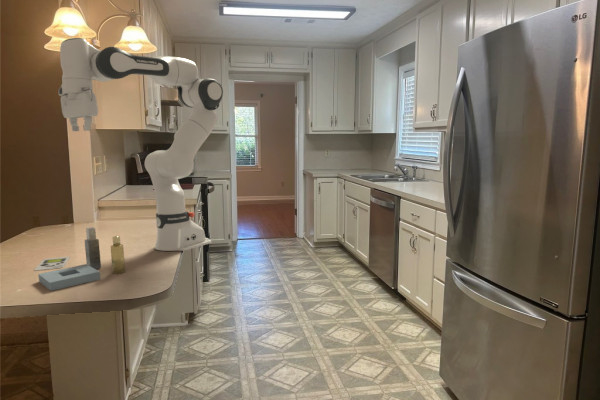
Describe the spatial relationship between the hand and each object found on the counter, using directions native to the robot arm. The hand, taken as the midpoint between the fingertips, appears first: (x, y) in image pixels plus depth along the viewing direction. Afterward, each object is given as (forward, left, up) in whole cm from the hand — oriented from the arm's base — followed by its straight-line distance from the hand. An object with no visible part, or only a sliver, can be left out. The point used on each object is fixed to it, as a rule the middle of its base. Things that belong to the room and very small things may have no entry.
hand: (81, 131), depth 143 cm
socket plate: (+12, +13, -46) cm, 50 cm away
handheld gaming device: (+10, -12, -47) cm, 49 cm away
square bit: (+2, +5, -47) cm, 47 cm away
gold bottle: (-2, +16, -47) cm, 49 cm away
